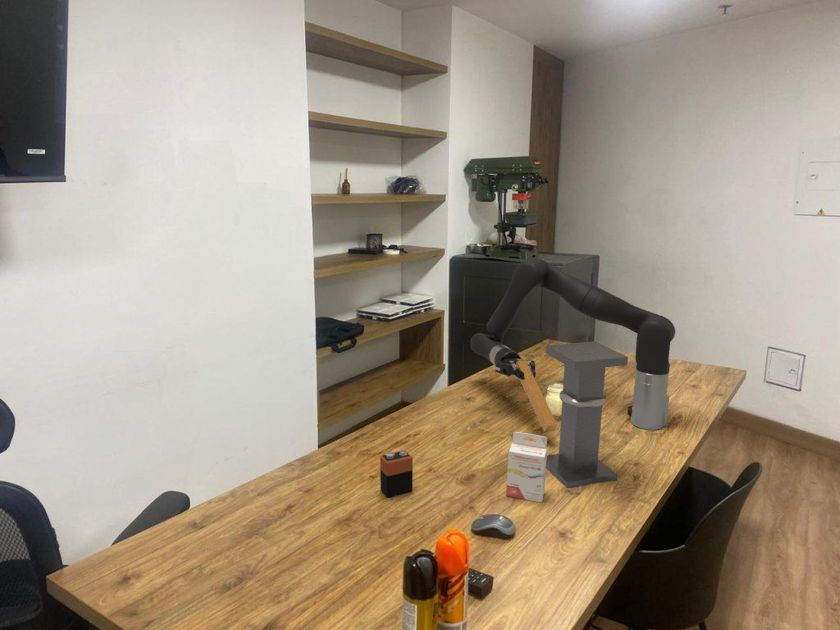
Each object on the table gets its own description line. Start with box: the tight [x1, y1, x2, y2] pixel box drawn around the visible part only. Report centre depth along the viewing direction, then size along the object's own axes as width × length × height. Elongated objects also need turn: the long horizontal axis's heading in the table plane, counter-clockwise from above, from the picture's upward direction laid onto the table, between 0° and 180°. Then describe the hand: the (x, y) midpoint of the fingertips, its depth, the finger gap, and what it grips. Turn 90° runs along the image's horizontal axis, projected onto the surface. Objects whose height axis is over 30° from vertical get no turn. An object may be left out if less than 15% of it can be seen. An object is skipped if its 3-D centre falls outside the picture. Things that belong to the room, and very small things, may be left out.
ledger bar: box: [515, 360, 558, 433], centre depth 171 cm, size 3×24×3 cm
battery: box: [379, 449, 414, 498], centre depth 139 cm, size 4×7×10 cm, turn 117°
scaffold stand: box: [545, 341, 629, 489], centre depth 147 cm, size 14×14×32 cm
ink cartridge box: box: [505, 431, 548, 503], centre depth 137 cm, size 9×5×15 cm, turn 71°
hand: (528, 375), depth 174 cm, fingers closed on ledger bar, 3 cm apart
